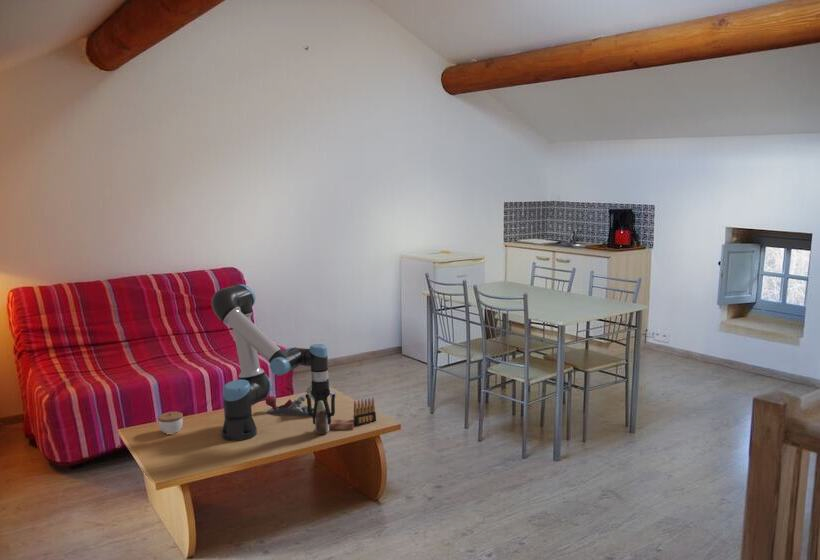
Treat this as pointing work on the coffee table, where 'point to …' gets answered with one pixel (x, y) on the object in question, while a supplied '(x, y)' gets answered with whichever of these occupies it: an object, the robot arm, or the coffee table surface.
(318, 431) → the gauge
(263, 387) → the robot arm
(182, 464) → the coffee table surface
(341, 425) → the board
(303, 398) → the hand plane
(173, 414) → the lidded jar
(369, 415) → the ammunition clip
